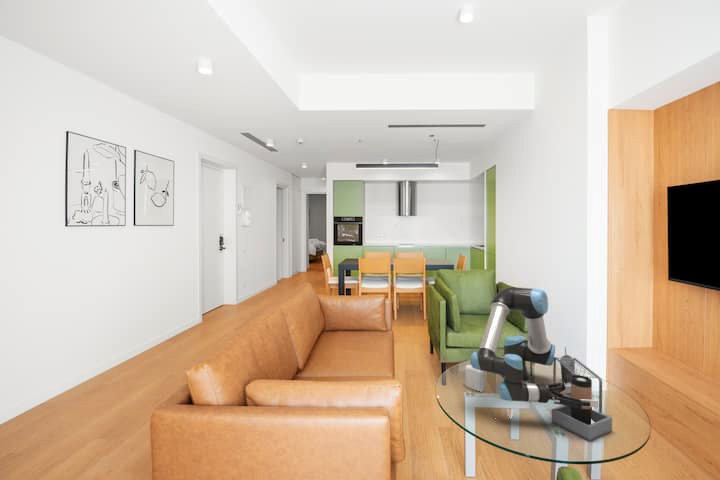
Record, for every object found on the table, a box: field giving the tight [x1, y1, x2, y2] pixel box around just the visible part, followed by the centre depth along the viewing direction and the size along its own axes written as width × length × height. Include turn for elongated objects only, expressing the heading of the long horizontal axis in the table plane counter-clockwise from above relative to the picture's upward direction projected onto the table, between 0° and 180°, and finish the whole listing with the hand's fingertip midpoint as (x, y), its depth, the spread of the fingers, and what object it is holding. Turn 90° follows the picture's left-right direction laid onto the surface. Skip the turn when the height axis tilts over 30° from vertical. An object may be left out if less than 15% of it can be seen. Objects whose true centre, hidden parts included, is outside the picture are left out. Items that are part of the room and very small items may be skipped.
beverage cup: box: [559, 346, 574, 385], centre depth 196 cm, size 7×7×20 cm
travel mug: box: [570, 374, 593, 425], centre depth 150 cm, size 8×8×20 cm
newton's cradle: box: [552, 356, 603, 414], centre depth 174 cm, size 30×10×18 cm, turn 170°
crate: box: [550, 405, 613, 443], centre depth 150 cm, size 16×16×6 cm
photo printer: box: [464, 364, 485, 393], centre depth 188 cm, size 10×4×12 cm, turn 38°
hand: (589, 396), depth 149 cm, fingers open, 13 cm apart
